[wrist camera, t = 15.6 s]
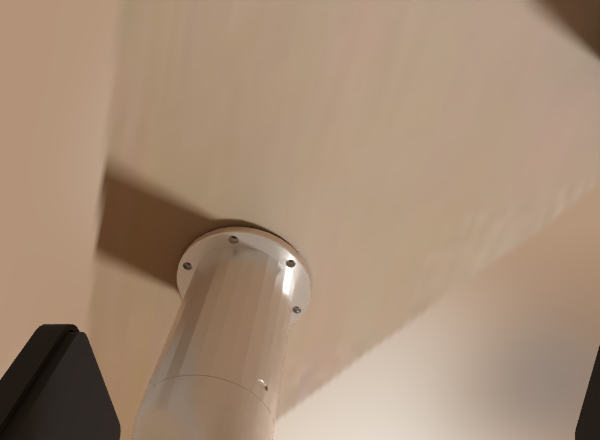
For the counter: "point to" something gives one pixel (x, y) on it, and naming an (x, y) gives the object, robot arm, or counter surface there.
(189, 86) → the counter surface
